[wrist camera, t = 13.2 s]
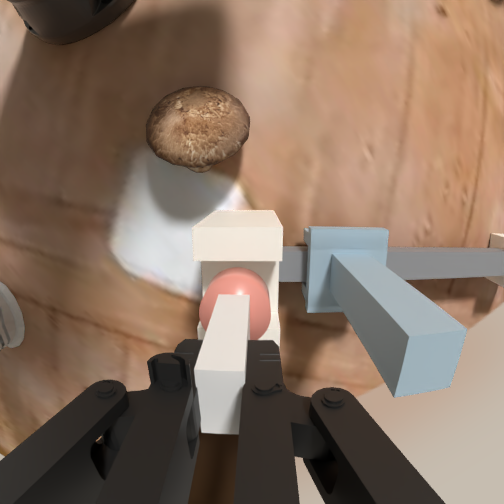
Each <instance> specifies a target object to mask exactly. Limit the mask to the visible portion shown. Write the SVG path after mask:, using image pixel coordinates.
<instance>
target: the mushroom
mask: <svg viewBox="0 0 504 504" xmlns="http://www.w3.org/2000/svg"><path fill="white" fill-rule="evenodd" d="M249 127H250V117H249V115H248V113H247V111H246V110H245V108H244V106H243V105H242V103H241V102H240V101H239V100H238V99H237V98H235V97H234V96H232V95H230V94H228V93H227V92H225V91H223V90H219V89H215V88H210V87H188V88H182V89H180V90H178V91H176V92H173V93H171V94H169V95H167V96H165V97H164V98H163V99H162V100H161V101H160V102H159V103H158V104H157V105H156V106H155V107H154V108H153V110H152V112H151V114H150V117H149V119H148V121H147V124H146V133H147V142H148V145H149V146H150V147H151V149H152V150H153V151H154V153H155V154H156V155H157V156H158V157H159V158H161V159H163V160H165V161H167V162H169V163H171V164H173V165H179V166H185V167H187V168H189V169H190V170H192V171H194V172H196V173H203V172H206V171H209V169H210V168H211V167H212V165H215V164H217V163H219V162H221V161H223V160H225V159H227V158H228V157H230V156H232V155H234V154H235V153H236V152H237V151H238V150H239V149H240V147H241V146H242V145H243V144H244V143H245V142H246V140H247V139H248V136H249Z"/></svg>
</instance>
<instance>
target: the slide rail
mask: <svg viewBox="0 0 504 504" xmlns="http://www.w3.org/2000/svg"><path fill="white" fill-rule="evenodd" d="M192 241H193V261H201V270H202V291H203V297H204V294H205V292H206V290H207V288H208V285H209V283H210V282H211V280H212V279H213V278H214V276H215V275H217V274H218V273H219V272H221V271H223V270H225V269H228V268H233V267H242V268H246V269H249V270H252V271H254V272H255V273H257V274H258V275H259V276H260V277H261V278H262V279H263V280H264V282H265V283H266V285H267V287H268V291H269V298H270V308H271V320H270V324H269V327H268V329H267V331H266V332H265V333H264V335H263V336H262V337H261V338H259V339H258V340H273V341H274V342H275V343H276V344H277V345H278V346H279V347H280V324H279V317H278V287H279V282H307V261H308V246H283V227H282V225H281V223H280V221H279V219H278V217H277V216H276V214H275V212H274V210H215V211H214V212H212V213H211V214H209V215H208V216H207V217H205V218H204V219H203V220H201V221H200V222H199V223H197V224H196V225H195V226H193V227H192ZM386 267H387V268H388V269H390V270H391V271H392V272H394V273H395V274H397V275H398V276H399V277H401V278H402V279H403V280H416V279H444V278H467V277H485V278H486V279H488V280H490V281H492V282H494V283H496V284H498V285H500V286H502V287H503V288H504V234H496V233H491V237H490V246H489V248H448V247H388V248H387V259H386ZM197 330H198V340H204V337H205V334H206V331H205V330H204V328H203V326H202V324H201V321H200V322H199V325H198V327H197Z"/></svg>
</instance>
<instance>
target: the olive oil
mask: <svg viewBox="0 0 504 504" xmlns="http://www.w3.org/2000/svg"><path fill="white" fill-rule="evenodd" d="M198 433H199V441H200V444H199V449H198V454H197V459H196V464H195V469H194V474H193V479H192V484H191V489H190V494H189V499H188V504H233V503H234V490H235V477H236V464H237V451H238V438H239V434H215V433H202V432H201V424H200V428H199V432H198Z"/></svg>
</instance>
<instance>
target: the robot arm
mask: <svg viewBox="0 0 504 504" xmlns="http://www.w3.org/2000/svg"><path fill="white" fill-rule="evenodd" d="M8 1H10V2H11V3H12V4H13V6H14V8H15V9H16V11H17V12H18V14H19V16H20V17H21V18H22V19H23V20H24V23H25V26H26V27H27V29H28V30H29V31H30V32H31V33H32V34H33V35H34V36H36V37H38V38H39V39H41V40H43V41H45V42H47V43H50V44H67V43H72V42H75V41H78V40H81V39H83V38H86V37H88V36H90V35H92V34H94V33H95V32H97V31H99V30H101V29H102V28H104V27H105V26H107V25H108V24H109V23H111V22H112V21H113V20H114V19H116V18H117V17H118V16H119V15H120V14H121V13H123V12H124V11H125V10H126V9H127V8H128V7H129V5H130V4H131V3H132V2H133V1H134V0H8ZM147 364H148V370H149V375H150V381H151V384H150V387H149V389H146V390H141V391H130V392H127V391H126V387H125V386H124V385H123V383H121V382H119V381H115V380H102V381H99V382H96V383H94V384H92V385H91V386H90V387H88V388H87V389H86V390H85V391H84V392H82V393H81V394H80V395H79V396H78V397H76V398H75V399H74V400H73V401H72V402H70V403H69V404H68V405H67V406H66V407H64V408H63V409H62V410H61V411H60V412H58V413H57V414H56V415H55V416H54V417H52V418H51V419H50V420H49V421H48V422H46V423H45V424H44V425H43V426H42V427H40V428H39V429H38V430H37V431H36V432H34V433H33V434H32V435H31V436H30V437H28V438H27V439H26V440H25V441H24V442H22V443H21V444H20V445H19V446H18V447H16V448H15V449H14V450H13V451H12V452H10V453H9V454H8V455H7V456H6V457H4V458H3V459H2V460H1V461H0V504H188V499H189V494H190V489H191V484H192V479H193V474H194V469H195V464H196V459H197V454H198V449H199V444H200V441H199V433H198V432H199V428H200V424H201V432H202V433H215V434H239V438H238V451H237V464H236V477H235V490H234V503H233V504H300V503H299V494H298V485H297V475H296V466H295V457H294V456H296V457H301V458H303V461H304V463H305V465H306V467H307V469H308V471H309V473H310V475H311V477H312V479H313V481H314V483H315V485H316V487H317V489H318V491H319V493H320V495H321V496H322V498H323V500H324V502H325V504H445V503H444V501H443V500H442V499H441V498H440V497H439V496H438V495H437V493H436V492H435V491H434V490H433V489H432V488H431V487H430V486H429V484H428V483H427V482H426V481H425V480H424V478H423V477H422V476H421V475H420V474H419V472H418V471H417V470H416V469H415V468H414V467H413V465H412V464H411V463H410V462H409V461H408V460H407V458H406V457H405V456H404V455H403V454H402V453H401V451H400V450H399V449H398V448H397V447H396V446H395V444H394V443H393V442H392V441H391V440H390V438H389V437H388V436H387V435H386V434H385V433H384V431H383V430H382V429H381V428H380V427H379V425H378V424H377V423H376V422H375V421H374V419H372V417H371V416H370V415H369V413H368V412H367V411H366V410H365V409H364V408H363V406H362V405H361V404H360V403H359V402H358V400H357V399H356V398H355V397H354V396H353V395H352V394H351V393H350V392H348V391H346V390H344V389H341V388H334V387H330V388H323V389H320V390H318V391H316V392H315V393H314V394H313V395H312V398H310V397H304V396H300V395H296V394H294V393H292V392H290V391H289V390H287V389H286V387H285V385H284V383H283V377H282V368H281V361H280V352H279V346H278V345H277V344H276V343H275V342H274V341H273V340H250V295H230V294H219V295H218V298H217V301H216V304H215V307H214V310H213V313H212V316H211V319H210V322H209V325H208V328H207V331H206V334H205V337H204V340H194V339H185V340H184V341H182V342H181V343H179V344H178V345H177V347H176V349H175V352H174V353H162V354H158V355H155V356H153V357H151V358H150V359H149V360H148V361H147ZM100 436H101V438H100V440H98V441H97V442H96V440H97V439H98V438H99V437H100Z"/></svg>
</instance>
